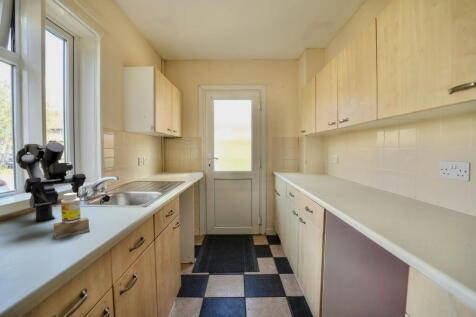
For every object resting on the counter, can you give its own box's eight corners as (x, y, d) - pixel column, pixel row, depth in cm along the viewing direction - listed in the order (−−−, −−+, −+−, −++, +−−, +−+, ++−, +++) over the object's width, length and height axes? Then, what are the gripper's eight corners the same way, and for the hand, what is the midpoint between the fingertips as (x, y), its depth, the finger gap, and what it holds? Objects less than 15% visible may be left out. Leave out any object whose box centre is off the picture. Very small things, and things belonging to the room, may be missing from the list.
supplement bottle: (60, 221, 83) (59, 193, 82) (78, 217, 87) (77, 191, 87) (63, 224, 79) (62, 196, 79) (82, 220, 83) (81, 193, 83)
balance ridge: (55, 239, 78) (55, 226, 77) (53, 235, 82) (53, 222, 81) (89, 231, 85) (89, 219, 84) (86, 228, 89) (86, 216, 88)
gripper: (24, 156, 81) (35, 189, 75) (83, 154, 96) (96, 182, 91) (19, 176, 86) (29, 209, 80) (76, 172, 101) (88, 199, 95)
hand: (63, 199), depth 86 cm, fingers open, 9 cm apart
